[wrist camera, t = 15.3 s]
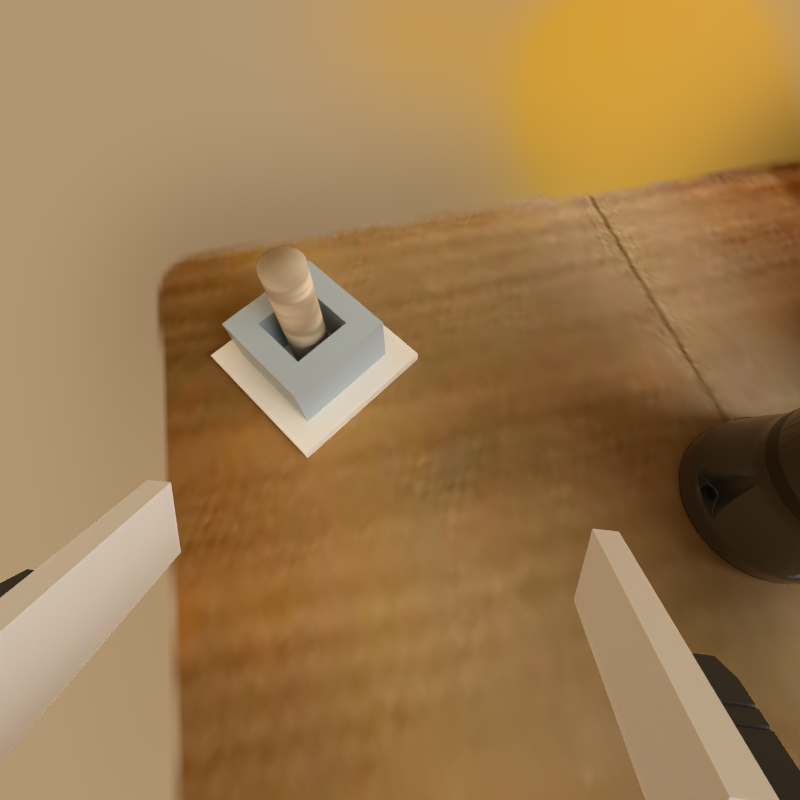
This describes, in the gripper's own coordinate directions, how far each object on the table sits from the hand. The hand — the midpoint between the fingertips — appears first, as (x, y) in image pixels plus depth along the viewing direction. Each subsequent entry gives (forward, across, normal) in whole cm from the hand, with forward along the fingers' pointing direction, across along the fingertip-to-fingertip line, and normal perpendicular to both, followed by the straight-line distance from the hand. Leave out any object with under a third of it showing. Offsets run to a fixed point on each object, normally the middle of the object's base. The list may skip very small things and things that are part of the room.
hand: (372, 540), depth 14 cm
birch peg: (+34, -12, -4) cm, 36 cm away
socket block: (+34, -12, -4) cm, 37 cm away
